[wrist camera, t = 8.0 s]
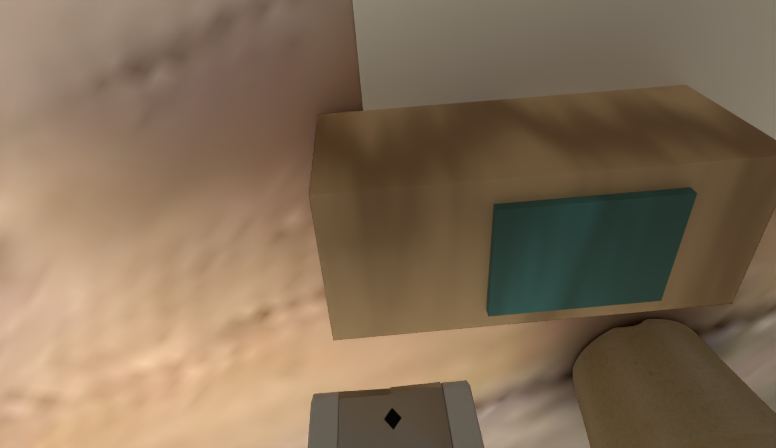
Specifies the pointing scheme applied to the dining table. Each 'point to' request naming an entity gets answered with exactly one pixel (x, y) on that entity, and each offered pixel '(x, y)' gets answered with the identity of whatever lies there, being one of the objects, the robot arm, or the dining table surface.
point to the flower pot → (666, 392)
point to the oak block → (535, 209)
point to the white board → (567, 50)
